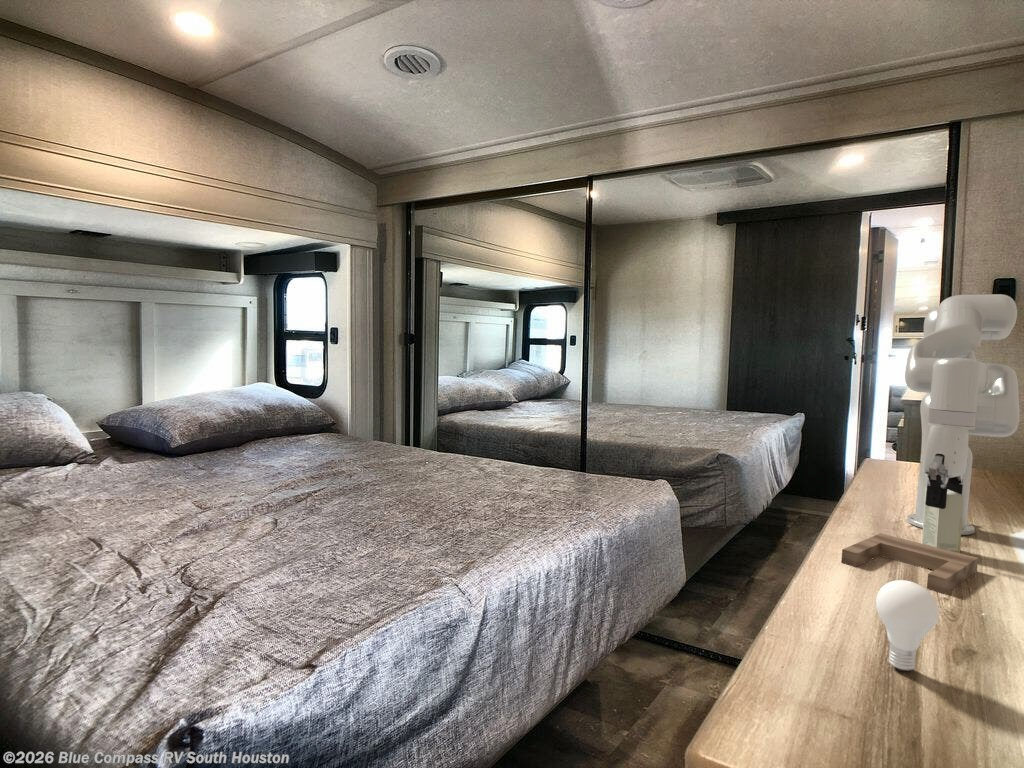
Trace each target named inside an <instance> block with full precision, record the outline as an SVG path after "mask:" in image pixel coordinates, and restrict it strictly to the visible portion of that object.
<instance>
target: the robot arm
mask: <svg viewBox="0 0 1024 768" xmlns="http://www.w3.org/2000/svg"><path fill="white" fill-rule="evenodd" d="M1017 317H1018V309H1017V304H1016V302H1015V300H1014V299H1013V298H1012V297H1011V296H1009V295H1007V294H1001V293H999V294H996V293H995V294H990V293H989V294H986V293H985V294H958V295H951V296H949V297H946V298H945V299H943V300H942V301H941V303H939V305H938V307H936V308H934V309H932V310H930V311H929V312H928V313H927V314H926V316H925V317H924V320H923V321H924V322H923V337H922V338H920V339H919V340H917V341H916V342H915V343H914V344H913V345H912V347H911V348H910V349H909V352H908V356H907V359H906V366H905V371H904V372H905V373H904V380H905V383H906V386H907V387H908V388H909V389H910V390H912V391H914V392H917V393H927V394H925V395H924V396H923V398H922V399H921V400H920V401H921V402H920V406H919V407H920V408H919V409H920V410H919V411H920V422H921V423H920V424H921V447H920V459H919V472H918V483H917V494H916V507H915V513H913V514H912V513H911V514H908V515H907V516H906V521H907V523H909V524H911V525H912V526H915V527H918V528H920V529H923V516H924V500H925V488H927V492H926V503H925V504H926V505H927V506H930V507H935V508H940V509H945V508H946V500H947V489H949V490H951V491H954V492H956V493H959V494H961V495H964V498H963V512H962V527H961V536H966V535H972V534H974V533H975V531H976V529H975V526H973V525H972V524H970V523H968V522H967V520H968V511H969V501H970V499H969V498H970V490H971V489H970V488H971V480H972V479H971V478H972V470H973V469H972V468H973V461H974V460H973V457H974V456H973V453H972V450H971V448H970V446H969V439H970V437H969V435H972V436H982V437H995V438H1005V437H1006V438H1007V437H1009V436H1012V435H1013V434H1014V433H1016V431H1017V429H1018V428H1019V424H1020V398H1019V382H1018V377H1017V373H1016V371H1015V370H1014V369H1013V368H1012V367H1010V366H1008V365H1005V364H998V363H984V362H983V361H980V360H978V359H977V358H976V357H977V356H976V355H975V353H974V351H975V350H976V349H977V348H979V346H980V344H981V342H982V341H1000V340H1004V339H1006V338H1008V336H1009V335H1011V332H1012V330H1013V329H1014V327H1015V325H1016V323H1017V319H1018V318H1017Z"/></svg>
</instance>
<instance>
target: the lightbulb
mask: <svg viewBox="0 0 1024 768" xmlns="http://www.w3.org/2000/svg"><path fill="white" fill-rule="evenodd" d="M875 607H876V611H877V614H878V616H879V618H880V620H881V622H882V624H883V625H884V627H885V629H886V635H887V639H888V641H889V649H888V650H889V652H888V662H889V664H890V665H892V666H893V667H894V668H895V669H897V670H899V671H902V672H909V671H912V670H914V669H915V664H916V657H917V656H916V654H917V649H918V648H920V645H921V642H922V640H923V638H924V637H925V636H926V635H927V634H928V633H930V632H931V631H932V630H933V629H934V627H936V625H937V623H938V620H939V616H940V613H939V612H940V611H939V606H938V603H937V601H936V600H935V598H934V596H933V595H932V594H931V593H930V591H929V590H928V589H927V588H925V587H924V586H922V585H920V584H919V583H916V582H913V581H911V580H905V579H895V580H891V581H889V582H886V583H884V585H882V586H881V587H880V589H879V590H878V592H877V594H876V596H875Z"/></svg>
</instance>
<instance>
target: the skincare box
mask: <svg viewBox="0 0 1024 768" xmlns="http://www.w3.org/2000/svg"><path fill="white" fill-rule="evenodd" d="M926 492H927V488H925V500H924V516H923V528H922V536H921V544H925V545H929V546H933V547H937V548H941V549H945V550H949V551H953V552H957V553H961V540H962V539H961V538H962V535H961V527H962V512H963V498H964V495H961V494H959V493H956V492H954V491H951V490H949V489H947V500H946V508H945V509H940V508H935V507H930V506H927V505H926V504H925V503H926Z"/></svg>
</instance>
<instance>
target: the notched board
mask: <svg viewBox="0 0 1024 768" xmlns="http://www.w3.org/2000/svg"><path fill="white" fill-rule="evenodd" d="M841 551H842V552H841V561H840V562H841V563H842V564H845V563H846V564H845V565H848V566H851V565H852V567H855V566H857V567H858V565H859V566H861V565H862V563H863V564H865V563H867V562H869V561H871V560H873V559H875V558H877V557H879V555H881V557H884V556H885V558H887V557H888V559H891V558H892V559H891V560H894V559H895V560H894V561H898V560H899V562H901V561H902V562H901V563H905V562H906V564H908V563H909V565H912V564H913V566H916V565H917V566H916V567H919V566H921V567H920V568H923V567H924V569H926V568H929V569H928V570H930V569H932V570H931V572H929V573H928V574H927V583H926V590H930V591H934V592H937V593H940V594H946V593H948V592H950V591H951V590H952V589H954V588H955V587H957V586H959V584H961V583H962V582H963V581H965V580H967V579H968V578H969V577H971V576H972V575H973V574H975V573H976V572H978V563H979V562H978V561H979V557H976V556H972V555H968V554H964V553H961V552H960V553H957V552H953V551H949V550H945V549H941V548H937V547H933V546H929V545H925V544H922V542H916V541H913V540H908V539H906V538H901V537H897V536H893V535H890V534H885V533H881V532H880V533H878V534H876V535H873V536H871V537H869V538H866V539H864V540H862V541H859V542H857V543H853V544H852V545H849V546H847V547H845V548H844V547H843V548H842V550H841ZM872 558H873V559H872ZM864 562H865V563H864ZM860 564H861V565H860ZM933 570H934V571H933Z"/></svg>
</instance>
